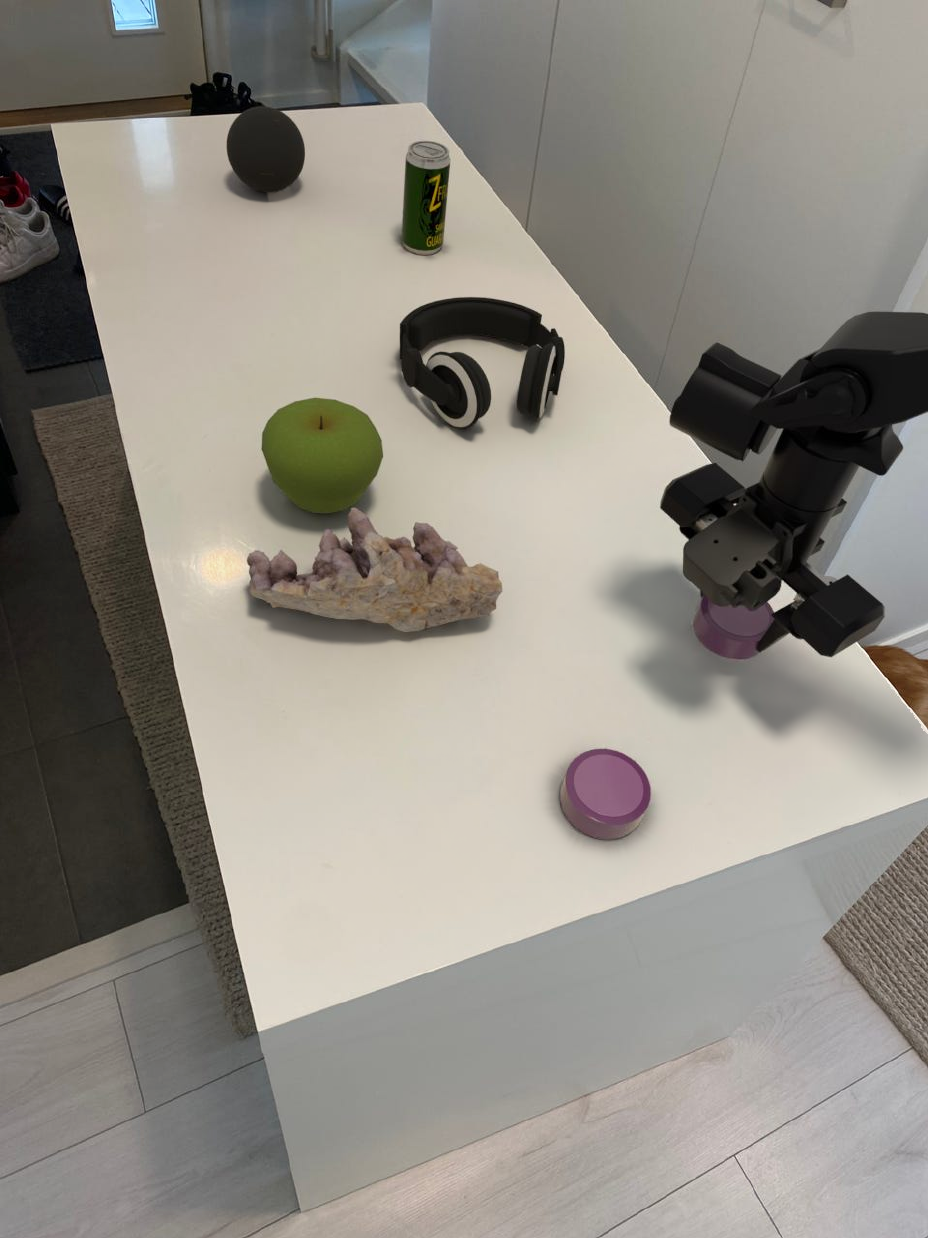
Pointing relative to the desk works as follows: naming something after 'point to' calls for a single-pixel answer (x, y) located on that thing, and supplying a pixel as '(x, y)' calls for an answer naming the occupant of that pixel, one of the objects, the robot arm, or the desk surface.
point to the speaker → (265, 149)
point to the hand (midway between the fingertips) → (732, 622)
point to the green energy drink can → (425, 197)
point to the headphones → (458, 376)
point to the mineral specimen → (379, 579)
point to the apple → (322, 453)
